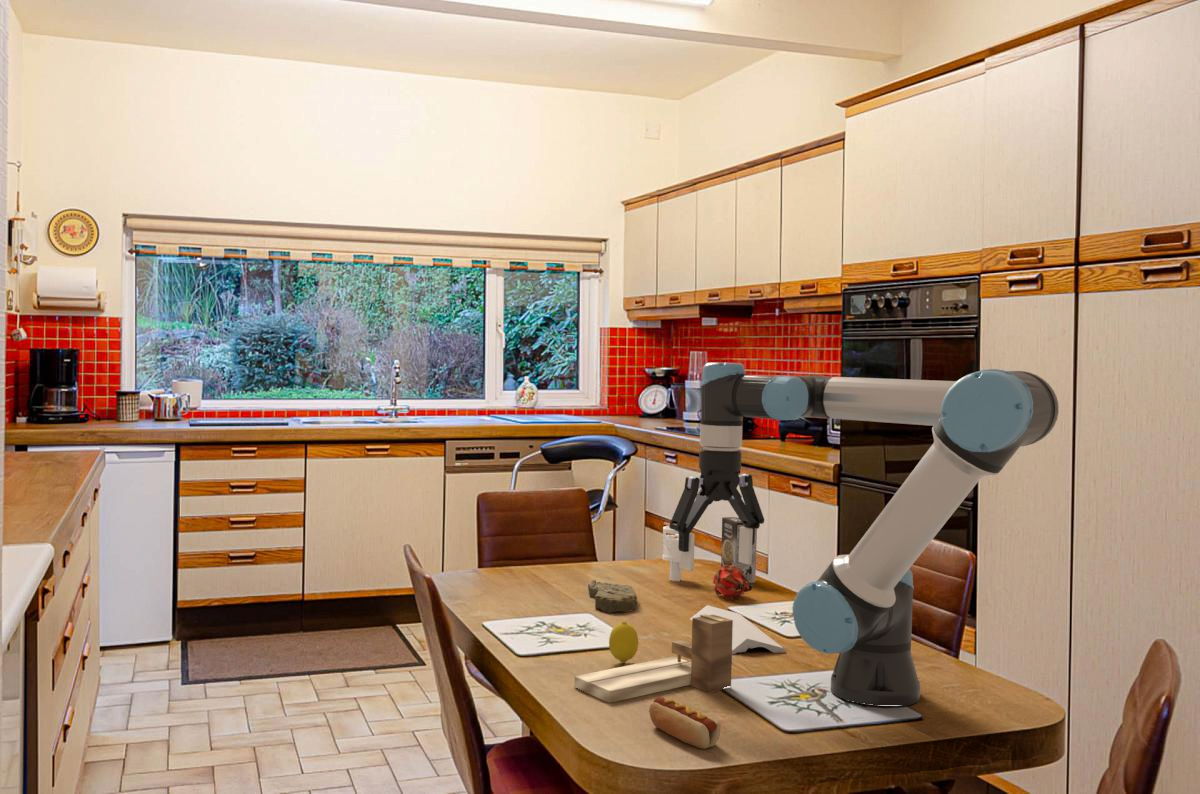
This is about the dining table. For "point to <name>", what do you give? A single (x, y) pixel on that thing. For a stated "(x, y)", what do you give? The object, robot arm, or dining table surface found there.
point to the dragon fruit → (731, 582)
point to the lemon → (623, 642)
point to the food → (684, 723)
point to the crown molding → (743, 632)
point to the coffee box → (736, 547)
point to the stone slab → (613, 596)
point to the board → (636, 679)
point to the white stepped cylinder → (672, 553)
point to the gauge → (708, 652)
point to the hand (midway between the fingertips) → (716, 566)
